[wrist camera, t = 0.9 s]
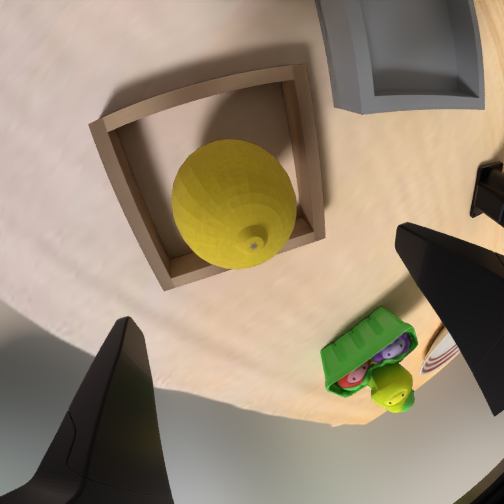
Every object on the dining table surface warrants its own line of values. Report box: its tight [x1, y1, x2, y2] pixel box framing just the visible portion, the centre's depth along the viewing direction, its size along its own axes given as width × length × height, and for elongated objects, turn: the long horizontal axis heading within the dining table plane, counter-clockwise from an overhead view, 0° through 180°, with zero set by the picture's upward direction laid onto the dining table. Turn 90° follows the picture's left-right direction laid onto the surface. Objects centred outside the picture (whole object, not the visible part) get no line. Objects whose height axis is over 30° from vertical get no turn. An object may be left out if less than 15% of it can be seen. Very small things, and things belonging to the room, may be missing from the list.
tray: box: [315, 0, 485, 115], centre depth 10 cm, size 14×14×3 cm
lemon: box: [171, 139, 297, 269], centre depth 13 cm, size 6×6×8 cm
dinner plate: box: [420, 326, 460, 375], centre depth 43 cm, size 28×27×3 cm
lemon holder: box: [88, 64, 326, 291], centre depth 15 cm, size 11×11×2 cm
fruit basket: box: [320, 306, 418, 413], centre depth 27 cm, size 11×9×11 cm
